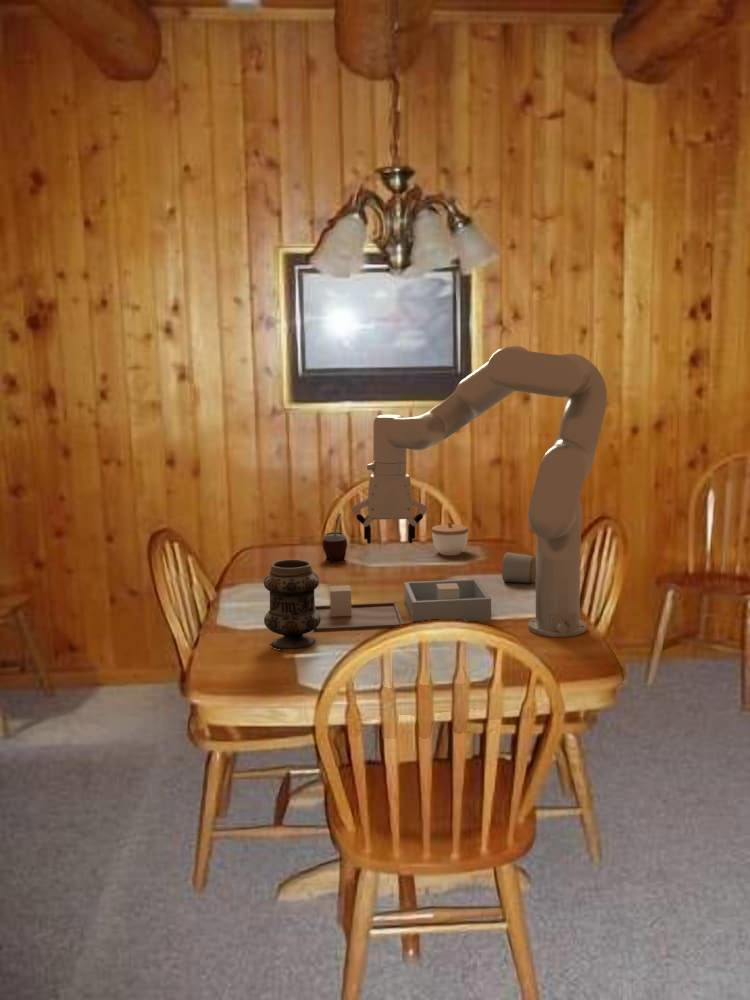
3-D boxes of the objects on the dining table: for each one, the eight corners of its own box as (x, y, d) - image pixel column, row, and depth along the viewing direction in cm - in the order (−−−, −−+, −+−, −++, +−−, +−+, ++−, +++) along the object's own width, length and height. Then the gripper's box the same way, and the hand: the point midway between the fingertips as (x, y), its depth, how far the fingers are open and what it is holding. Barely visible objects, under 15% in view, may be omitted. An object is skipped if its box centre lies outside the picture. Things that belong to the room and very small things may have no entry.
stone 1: (351, 615, 228) (350, 590, 227) (331, 616, 227) (330, 591, 226) (350, 609, 232) (349, 585, 231) (330, 610, 232) (329, 586, 231)
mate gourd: (330, 557, 289) (328, 507, 286) (354, 559, 286) (352, 509, 283) (318, 563, 282) (316, 512, 280) (342, 565, 279) (340, 513, 276)
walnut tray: (403, 629, 218) (403, 624, 218) (314, 633, 217) (314, 628, 216) (396, 607, 236) (395, 602, 236) (313, 610, 234) (312, 606, 234)
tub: (491, 619, 223) (491, 598, 223) (413, 623, 222) (412, 602, 221) (477, 598, 241) (477, 579, 240) (404, 602, 240) (404, 582, 239)
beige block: (459, 613, 226) (459, 588, 225) (439, 614, 226) (438, 589, 225) (456, 607, 231) (456, 583, 230) (436, 608, 231) (436, 583, 230)
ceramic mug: (532, 586, 251) (532, 557, 250) (501, 584, 254) (501, 555, 253) (540, 577, 261) (540, 549, 260) (510, 575, 264) (510, 547, 262)
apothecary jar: (333, 643, 210) (330, 561, 207) (292, 658, 201) (289, 573, 198) (294, 632, 218) (291, 554, 215) (253, 646, 209) (249, 564, 206)
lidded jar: (428, 550, 295) (427, 520, 293) (462, 548, 296) (462, 517, 295) (437, 558, 284) (436, 526, 283) (472, 556, 286) (472, 524, 284)
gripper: (352, 472, 219) (352, 546, 222) (429, 471, 220) (428, 545, 223) (351, 467, 227) (351, 539, 230) (425, 466, 228) (424, 538, 231)
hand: (389, 542), depth 227 cm, fingers open, 9 cm apart
